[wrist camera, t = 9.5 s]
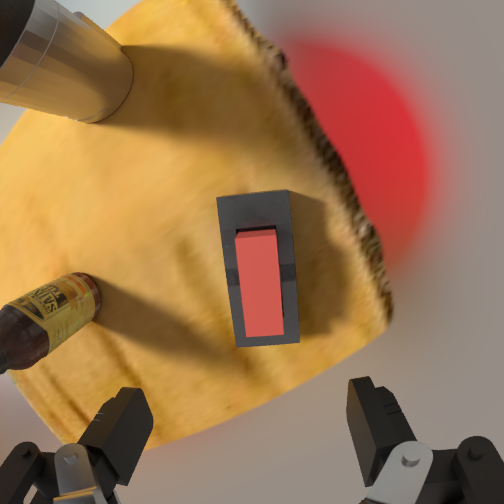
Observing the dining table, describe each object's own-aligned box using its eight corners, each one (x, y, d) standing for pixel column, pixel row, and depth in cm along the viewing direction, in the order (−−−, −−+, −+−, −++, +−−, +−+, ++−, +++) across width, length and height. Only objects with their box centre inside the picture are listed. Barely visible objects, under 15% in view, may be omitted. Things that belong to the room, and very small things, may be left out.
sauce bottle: (101, 272, 31) (-27, 354, 12) (105, 322, 33) (2, 422, 13) (59, 266, 31) (-63, 329, 12) (65, 312, 33) (-39, 392, 13)
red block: (242, 225, 29) (234, 238, 22) (274, 223, 28) (276, 234, 22) (251, 304, 30) (246, 337, 24) (280, 302, 30) (283, 334, 23)
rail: (223, 195, 29) (216, 197, 25) (285, 189, 28) (288, 189, 24) (240, 328, 32) (236, 347, 28) (296, 324, 31) (299, 342, 27)
